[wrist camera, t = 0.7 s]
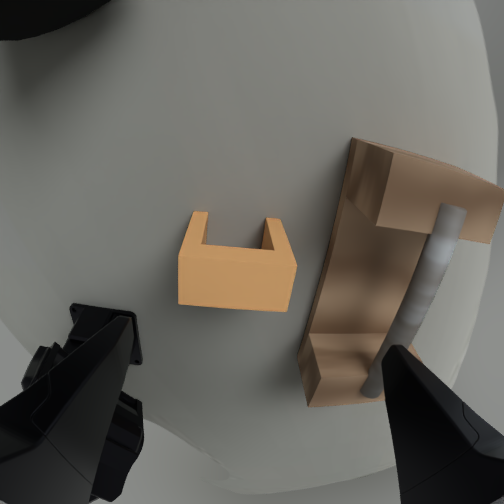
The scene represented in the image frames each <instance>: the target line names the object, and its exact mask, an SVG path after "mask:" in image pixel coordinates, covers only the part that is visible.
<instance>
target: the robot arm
mask: <svg viewBox="0 0 504 504" xmlns="http://www.w3.org/2000/svg"><path fill="white" fill-rule="evenodd" d="M74 308H75V309H76V310H75V309H74ZM70 313H71V317H72V320H73V324H74V326H73V328H72V330H71V331H70V333H69V335H68V339H67V341H66V343H65V345H64V347H63V349H62V348H61V347H60V345H59V344H57V343H56V342H54V343H53V345H52V346H51V347H44V346H40V347H39V348H38V349H37V351H36V353H35V355H34V356H33V358H32V360H31V362H30V364H29V366H28V368H27V370H26V372H25V375H24V377H23V379H22V382H21V385H22V388H23V392H21V393H20V394H18V395H17V396H15V397H14V398H12V399H11V400H9V401H8V402H6V403H4V404H3V405H2V406H0V504H89V503H91V502H93V501H95V500H97V499H99V498H101V499H103V500H106V501H108V502H112V501H114V500H115V499H116V498H117V497H118V496H120V495H121V493H122V489H123V486H124V483H125V480H126V477H127V474H128V472H129V471H130V469H131V467H132V465H133V463H134V462H135V461H136V459H137V458H138V456H139V454H140V452H141V450H142V447H143V442H144V429H143V412H142V402H141V401H139V400H138V399H134V398H133V397H131V396H129V395H128V394H126V393H124V392H123V391H121V389H122V386H123V383H124V380H125V376H126V372H127V369H128V366H129V364H134V365H141V364H142V361H143V358H142V353H141V346H140V340H139V333H138V326H137V319H136V315H135V314H134V313H133V312H130V311H123V310H116V309H109V308H102V307H95V306H89V305H82V304H76V303H73V304H72V305H71V306H70ZM130 317H131V318H130ZM381 368H382V377H383V386H384V396H385V402H386V408H387V413H388V418H389V423H390V429H391V435H392V440H393V446H394V453H395V459H396V466H397V473H398V481H399V489H400V494H401V495H400V499H401V504H504V436H503V435H502V434H501V433H499V432H498V431H497V430H496V429H495V428H493V427H492V426H491V425H490V424H488V423H487V422H486V421H485V420H484V419H482V418H481V417H480V416H479V415H477V414H476V413H475V412H474V411H473V410H472V409H471V408H470V407H469V406H468V405H466V403H465V402H463V401H462V400H461V399H460V398H459V397H458V396H457V395H456V394H455V393H454V392H453V391H452V390H451V389H450V388H449V387H448V386H447V385H445V384H444V383H443V382H442V381H441V380H440V379H439V378H438V377H437V376H436V375H435V374H434V373H432V372H431V371H430V370H429V369H428V368H427V367H426V366H425V365H424V364H423V363H422V362H421V361H419V360H418V359H417V358H416V357H415V356H414V355H413V354H412V353H411V352H410V351H408V350H407V349H406V348H405V347H404V346H403V345H400V344H393V345H391V346H390V347H389V349H388V351H387V352H386V354H385V355H384V357H383V359H382V362H381Z"/></svg>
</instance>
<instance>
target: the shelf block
mask: <svg viewBox="0 0 504 504" xmlns="http://www.w3.org/2000/svg"><path fill="white" fill-rule="evenodd" d="M503 203H504V189H503V188H501V187H499V186H497V185H495V184H493V183H491V182H489V181H486V180H484V179H482V178H480V177H478V176H476V175H474V174H472V173H469V172H467V171H465V170H463V169H460V168H458V167H455V166H452V165H449V164H446V163H443V162H440V161H437V160H434V159H431V158H428V157H425V156H421V155H418V154H415V153H411V152H408V151H404V150H401V149H397V148H393V147H390V146H386V145H382V144H378V143H374V142H370V141H366V140H361V139H357V138H353V137H352V141H351V147H350V152H349V157H348V162H347V167H346V172H345V177H344V182H343V187H342V191H341V196H340V200H339V205H338V209H337V214H336V218H335V222H334V226H333V230H332V235H331V239H330V243H329V247H328V251H327V255H326V258H325V262H324V266H323V270H322V274H321V277H320V281H319V285H318V288H317V292H316V295H315V299H314V302H313V306H312V309H311V313H310V316H309V320H308V323H307V326H306V330H305V333H304V336H303V339H302V343H301V346H300V349H299V352H298V355H297V359H298V364H299V368H300V373H301V377H302V382H303V387H304V391H305V396H306V401H307V405H308V407H323V406H337V405H349V404H359V403H368V402H376V401H383V400H385V396H384V386H383V377H382V368H381V362H382V359H383V357H384V355H385V354H386V352H387V351H388V349H389V347H390V346H391V345H393V344H400V345H403V346H404V347H405V348H406V349H407V350H408V351H410V352H411V353H412V354H413V355H414V356H415V357H416V358H417V359H418V360H419V361H421V359H420V357H419V356H418V354H417V352H416V350H415V349H414V347H413V345H412V344H411V343H412V341H413V339H414V337H415V335H416V333H417V331H418V330H419V328H420V326H421V324H422V322H423V320H424V318H425V316H426V314H427V312H428V310H429V308H430V305H431V303H432V301H433V299H434V297H435V295H436V293H437V290H438V288H439V286H440V284H441V281H442V279H443V277H444V274H445V272H446V269H447V267H448V264H449V262H450V259H451V257H452V254H453V252H454V249H455V246H456V244H457V241H458V239H464V240H469V241H475V242H480V243H486V244H490V242H491V239H492V236H493V233H494V231H495V228H496V225H497V222H498V219H499V215H500V212H501V209H502V206H503ZM421 362H422V361H421Z"/></svg>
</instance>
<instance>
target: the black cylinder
mask: <svg viewBox="0 0 504 504" xmlns="http://www.w3.org/2000/svg"><path fill="white" fill-rule="evenodd" d="M109 1H111V0H0V41H3V40H22V39H26V38H31V37H36V36H39V35H42V34H45V33H48V32H51V31H54V30H57V29H59V28H61V27H63V26H65V25H67V24H70V23H72V22H74V21H76V20H78V19H80V18H83V17H85V16H87V15H88V14H90V13H91V12H93V11H94V10H96V9H97V8H99V7H101V6H102V5H104V4H106V3H107V2H109Z"/></svg>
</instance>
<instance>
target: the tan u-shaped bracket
mask: <svg viewBox="0 0 504 504" xmlns="http://www.w3.org/2000/svg"><path fill="white" fill-rule="evenodd" d="M207 222H208V212H199V211H194V212H193V215H192V217H191V220H190V223H189V226H188V229H187V232H186V235H185V238H184V241H183V243H182V246H181V249H180V252H179V255H178V304H183V305H193V306H205V307H217V308H230V309H244V310H259V311H277V312H287V309H288V304H289V300H290V296H291V291H292V287H293V283H294V278H295V274H296V269H297V263H296V261H295V258H294V255H293V252H292V250H291V247H290V244H289V241H288V239H287V236H286V233H285V231H284V228H283V225H282V222H281V220H280V219H275V218H266V221H265V228H264V235H263V241H262V248H261V249H250V248H239V247H227V246H216V245H206V237H207Z"/></svg>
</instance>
